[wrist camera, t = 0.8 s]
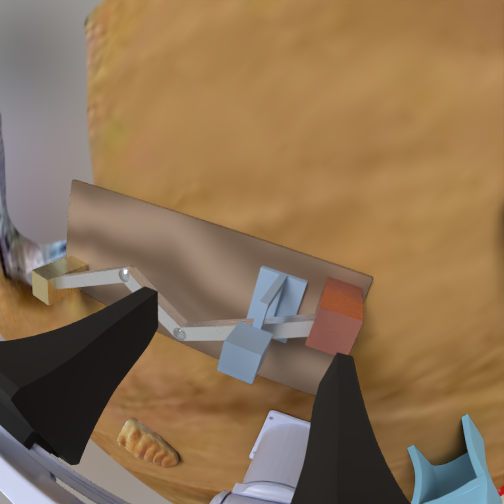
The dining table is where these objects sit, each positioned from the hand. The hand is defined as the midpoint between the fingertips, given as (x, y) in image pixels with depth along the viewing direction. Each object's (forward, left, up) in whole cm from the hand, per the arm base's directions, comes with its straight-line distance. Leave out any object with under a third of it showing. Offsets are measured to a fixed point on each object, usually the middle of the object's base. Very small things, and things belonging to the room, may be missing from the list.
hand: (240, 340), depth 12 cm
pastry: (-34, +12, -16) cm, 40 cm away
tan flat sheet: (-7, +10, -16) cm, 20 cm away
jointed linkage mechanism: (-7, +10, -16) cm, 20 cm away
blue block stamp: (-5, +1, -15) cm, 16 cm away
